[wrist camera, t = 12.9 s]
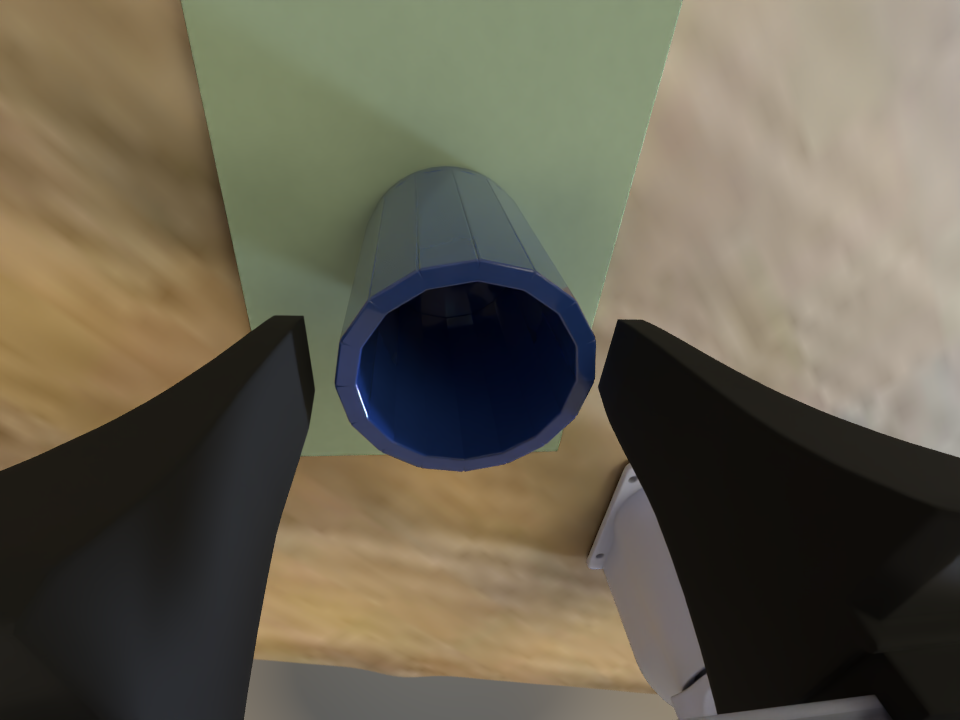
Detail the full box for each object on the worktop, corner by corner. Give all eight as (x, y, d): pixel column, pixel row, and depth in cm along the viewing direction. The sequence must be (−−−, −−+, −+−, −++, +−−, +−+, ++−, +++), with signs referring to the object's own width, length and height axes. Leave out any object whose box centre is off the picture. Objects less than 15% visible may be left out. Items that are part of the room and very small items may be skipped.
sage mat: (555, 445, 23) (557, 451, 22) (279, 450, 21) (277, 457, 20) (710, -123, 11) (718, -128, 11) (136, -237, 9) (127, -247, 9)
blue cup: (530, 305, 17) (593, 449, 11) (387, 330, 17) (375, 488, 11) (519, 152, 14) (599, 238, 8) (344, 181, 14) (294, 290, 8)
